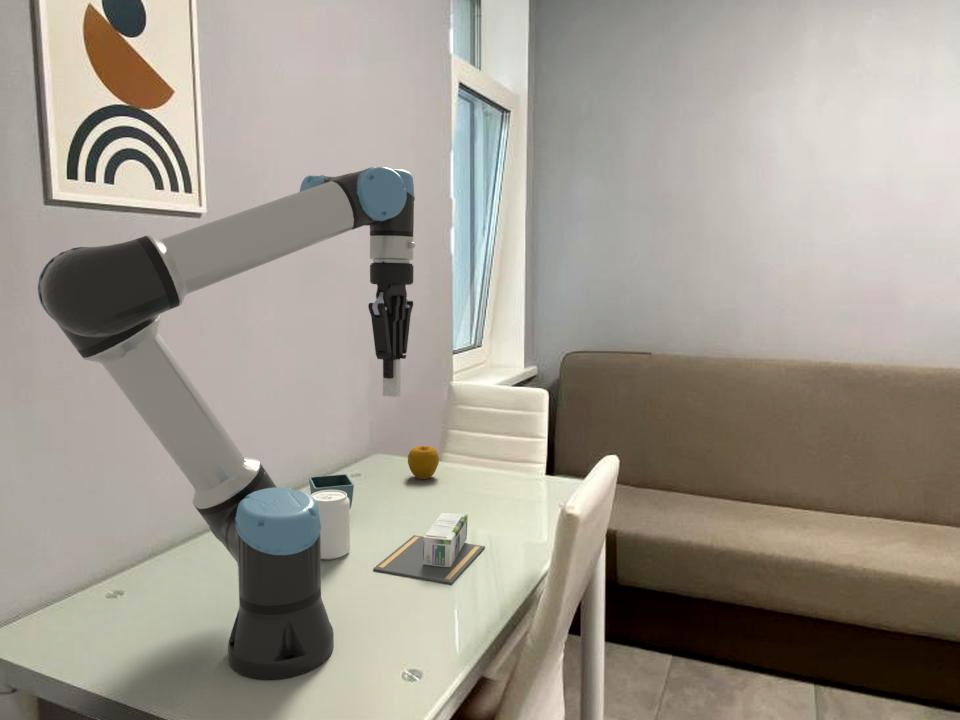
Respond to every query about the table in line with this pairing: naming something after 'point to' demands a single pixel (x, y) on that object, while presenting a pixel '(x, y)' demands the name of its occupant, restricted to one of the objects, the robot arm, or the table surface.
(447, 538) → the syrup box
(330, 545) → the beverage can
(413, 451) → the apple
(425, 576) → the mat
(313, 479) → the flower pot
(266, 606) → the robot arm
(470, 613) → the table surface
